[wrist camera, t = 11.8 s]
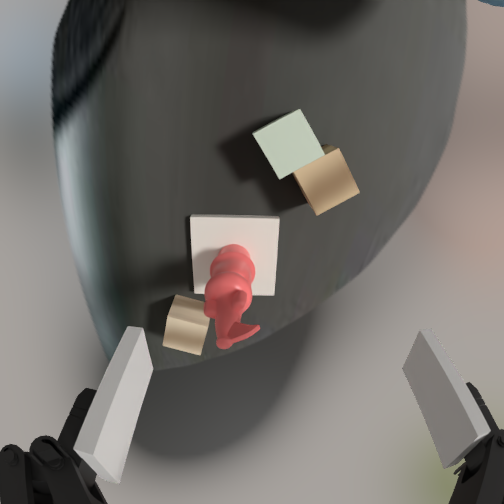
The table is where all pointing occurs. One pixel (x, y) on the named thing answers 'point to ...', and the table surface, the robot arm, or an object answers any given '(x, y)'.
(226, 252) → the figurine
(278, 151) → the sage block
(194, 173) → the table surface
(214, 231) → the coaster
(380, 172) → the table surface
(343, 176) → the oak block
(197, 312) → the maple block
